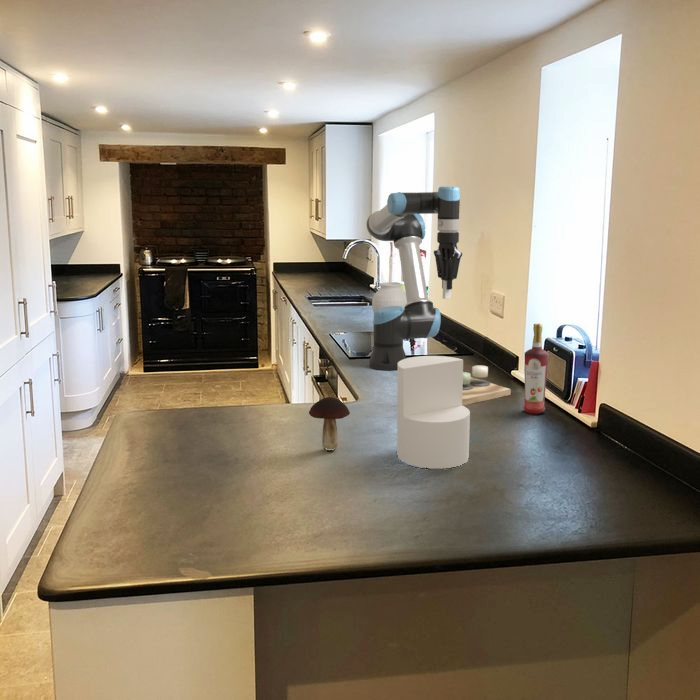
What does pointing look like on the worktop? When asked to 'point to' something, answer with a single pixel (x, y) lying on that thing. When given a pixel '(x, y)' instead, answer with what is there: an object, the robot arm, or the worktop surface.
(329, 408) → the decorative mushroom
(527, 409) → the liquor
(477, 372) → the cream button
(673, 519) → the worktop surface
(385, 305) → the vase
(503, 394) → the button board
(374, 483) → the worktop surface
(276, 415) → the worktop surface
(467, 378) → the sage button
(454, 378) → the cylinder
